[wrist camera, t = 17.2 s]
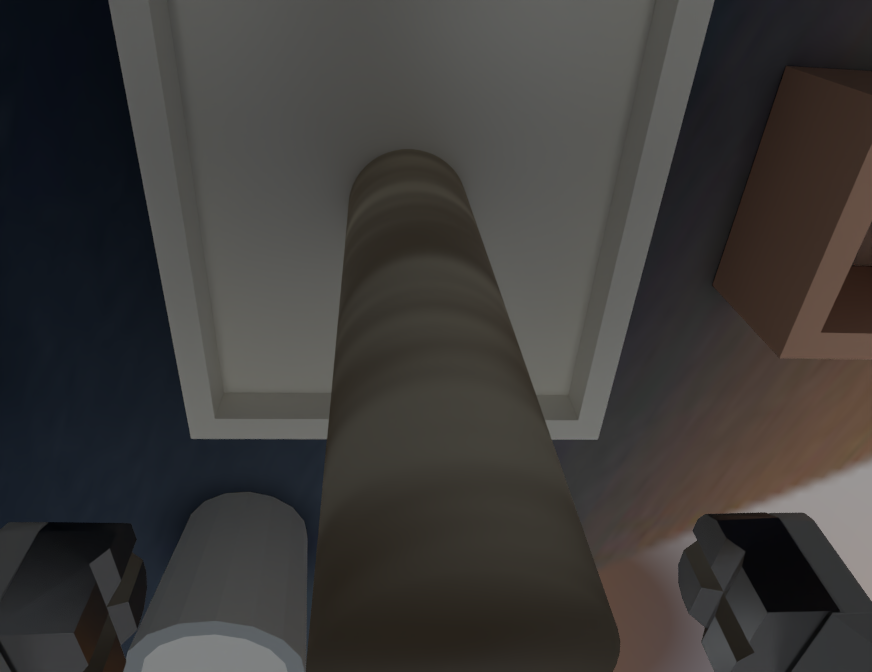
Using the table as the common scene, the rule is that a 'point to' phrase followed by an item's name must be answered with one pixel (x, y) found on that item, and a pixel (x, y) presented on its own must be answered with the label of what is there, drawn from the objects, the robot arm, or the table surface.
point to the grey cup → (230, 593)
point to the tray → (384, 132)
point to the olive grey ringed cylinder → (441, 459)
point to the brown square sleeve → (807, 220)
